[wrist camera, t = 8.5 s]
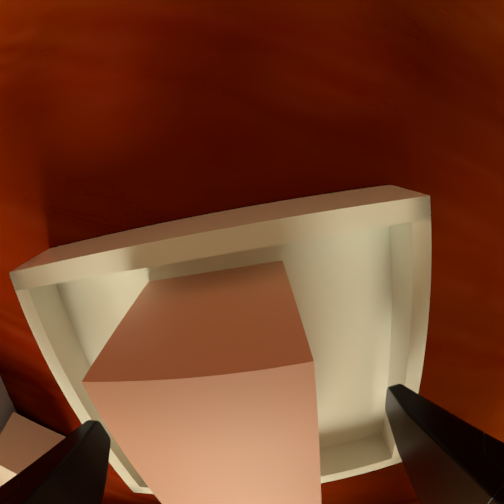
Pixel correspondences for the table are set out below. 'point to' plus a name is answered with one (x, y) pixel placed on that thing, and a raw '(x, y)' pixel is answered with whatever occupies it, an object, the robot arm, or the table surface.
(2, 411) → the grey block
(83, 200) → the table surface
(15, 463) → the cream block
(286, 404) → the terracotta brick
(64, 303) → the dish
